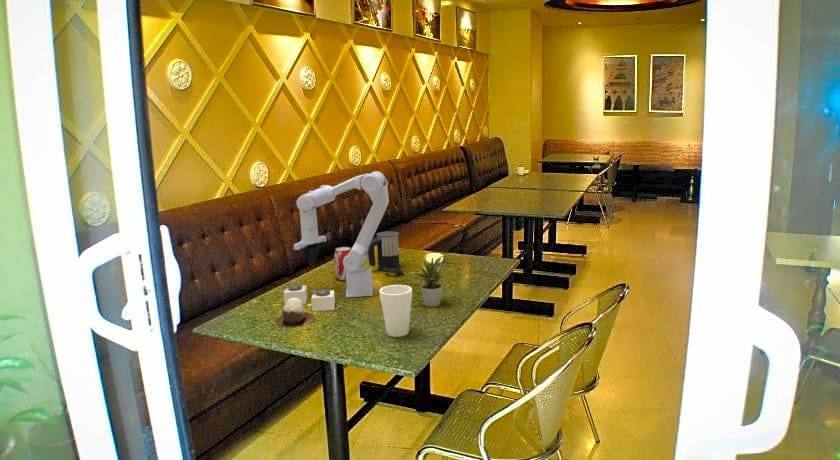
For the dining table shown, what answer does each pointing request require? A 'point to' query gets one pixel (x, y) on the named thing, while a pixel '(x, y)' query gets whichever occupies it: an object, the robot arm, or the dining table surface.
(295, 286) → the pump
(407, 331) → the foam cup
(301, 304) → the skull
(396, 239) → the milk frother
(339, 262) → the soda can
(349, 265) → the robot arm
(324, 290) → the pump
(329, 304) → the off-white square plinth
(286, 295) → the square base with knob
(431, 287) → the house plant
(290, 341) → the dining table surface
